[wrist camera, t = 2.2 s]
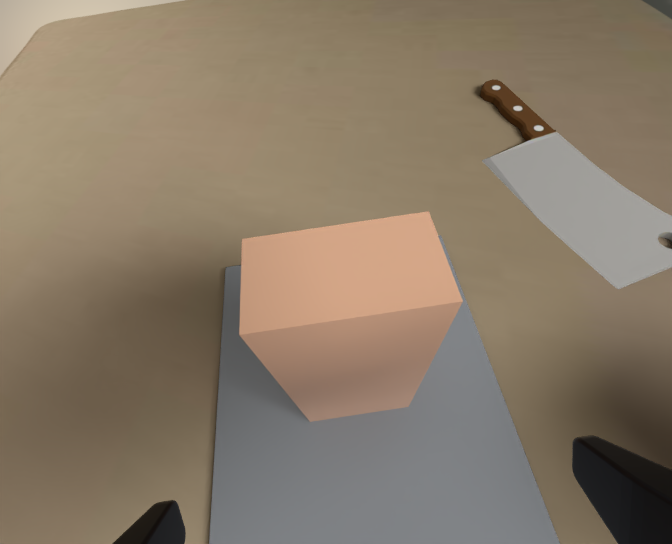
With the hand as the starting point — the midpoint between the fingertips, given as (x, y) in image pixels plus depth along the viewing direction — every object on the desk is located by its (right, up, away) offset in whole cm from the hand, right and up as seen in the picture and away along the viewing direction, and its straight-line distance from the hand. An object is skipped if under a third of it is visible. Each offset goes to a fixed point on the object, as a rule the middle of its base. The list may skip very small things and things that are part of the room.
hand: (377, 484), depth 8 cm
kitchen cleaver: (+17, +13, +22) cm, 30 cm away
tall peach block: (0, -2, +12) cm, 12 cm away
